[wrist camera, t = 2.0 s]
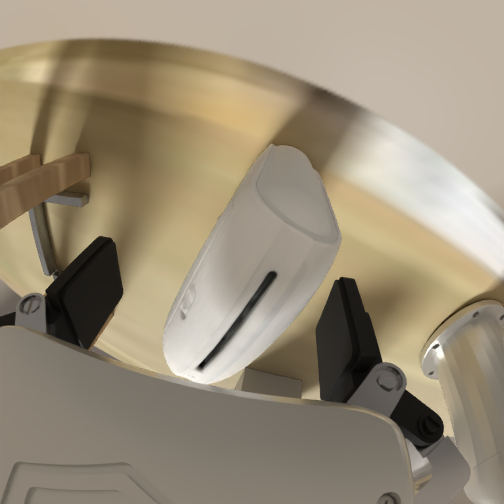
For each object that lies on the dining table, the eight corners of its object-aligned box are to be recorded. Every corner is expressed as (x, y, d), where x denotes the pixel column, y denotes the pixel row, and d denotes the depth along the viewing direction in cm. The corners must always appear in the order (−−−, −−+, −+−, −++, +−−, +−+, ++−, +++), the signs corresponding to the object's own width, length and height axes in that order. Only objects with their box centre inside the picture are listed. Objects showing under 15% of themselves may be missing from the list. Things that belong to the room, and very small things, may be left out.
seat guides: (87, 194, 20) (77, 200, 19) (103, 290, 26) (96, 298, 24) (35, 188, 21) (25, 194, 19) (53, 273, 26) (46, 280, 25)
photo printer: (251, 274, 22) (218, 416, 11) (204, 249, 21) (136, 379, 11) (326, 166, 17) (383, 271, 6) (271, 132, 16) (235, 179, 6)
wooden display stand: (89, 153, 18) (-96, 265, 3) (113, 316, 28) (37, 442, 12) (29, 154, 19) (-108, 237, 4) (58, 296, 28) (-18, 395, 13)
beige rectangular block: (232, 393, 32) (203, 520, 16) (245, 367, 28) (213, 522, 13) (281, 404, 32) (266, 529, 17) (301, 380, 29) (291, 529, 13)
